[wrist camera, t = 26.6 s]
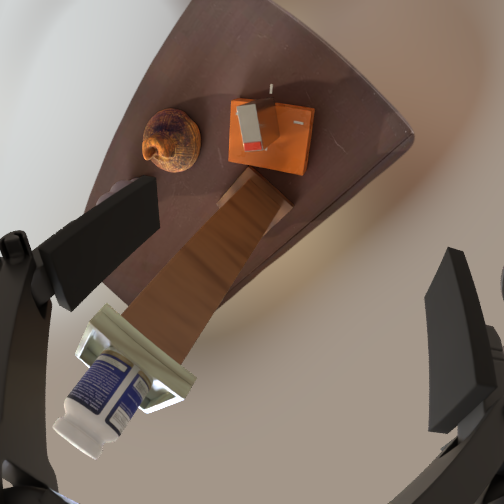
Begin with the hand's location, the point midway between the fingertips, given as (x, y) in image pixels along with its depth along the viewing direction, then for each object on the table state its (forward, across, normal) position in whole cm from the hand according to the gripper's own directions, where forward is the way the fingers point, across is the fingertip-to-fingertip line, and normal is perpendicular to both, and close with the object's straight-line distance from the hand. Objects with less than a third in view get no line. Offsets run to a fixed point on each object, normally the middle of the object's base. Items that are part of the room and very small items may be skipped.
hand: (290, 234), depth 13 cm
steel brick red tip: (+34, -11, -2) cm, 35 cm away
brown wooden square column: (+37, -13, -18) cm, 43 cm away
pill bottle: (+1, -13, -19) cm, 23 cm away
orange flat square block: (+37, -11, -4) cm, 39 cm away
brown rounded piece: (+37, -29, -9) cm, 48 cm away
